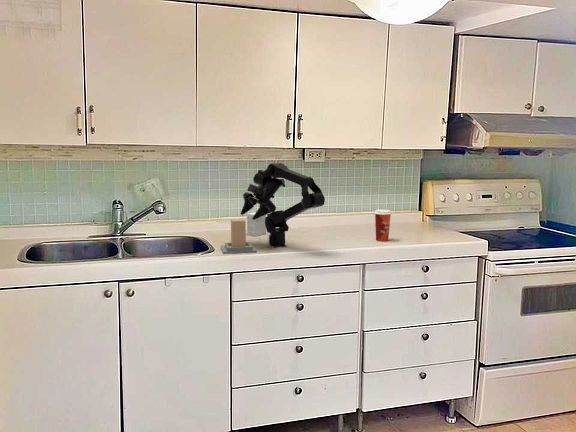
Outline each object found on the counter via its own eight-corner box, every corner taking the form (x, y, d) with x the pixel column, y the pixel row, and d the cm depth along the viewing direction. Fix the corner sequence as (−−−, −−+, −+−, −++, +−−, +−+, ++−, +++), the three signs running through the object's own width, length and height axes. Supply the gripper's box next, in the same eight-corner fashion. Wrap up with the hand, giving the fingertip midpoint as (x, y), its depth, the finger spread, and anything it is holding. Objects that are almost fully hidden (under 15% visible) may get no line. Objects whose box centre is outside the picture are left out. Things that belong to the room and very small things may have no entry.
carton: (243, 246, 243) (243, 218, 241) (245, 249, 237) (245, 220, 236) (231, 247, 241) (230, 219, 240) (232, 249, 236) (232, 221, 234)
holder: (252, 246, 247) (252, 241, 246) (256, 252, 235) (256, 247, 235) (220, 247, 244) (220, 242, 244) (223, 253, 232) (223, 248, 232)
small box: (257, 232, 280) (257, 211, 278) (266, 234, 276) (266, 212, 275) (246, 235, 274) (246, 213, 272) (255, 236, 270) (255, 214, 269)
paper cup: (384, 242, 257) (385, 212, 255) (370, 240, 262) (371, 210, 260) (393, 240, 262) (394, 210, 260) (379, 238, 268) (380, 208, 265)
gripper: (247, 174, 248) (224, 200, 244) (271, 181, 234) (248, 209, 230) (261, 190, 255) (239, 216, 251) (285, 198, 241) (263, 226, 237)
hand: (247, 216), depth 242 cm, fingers open, 9 cm apart
